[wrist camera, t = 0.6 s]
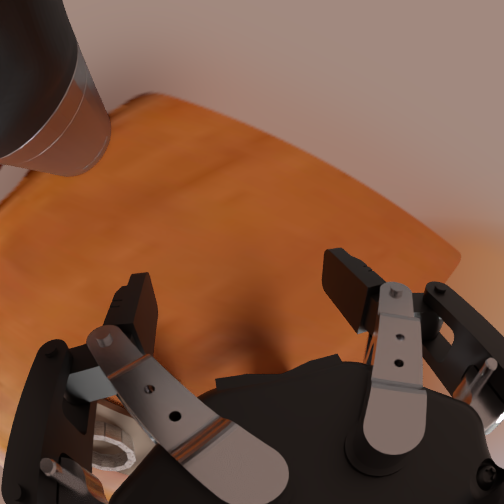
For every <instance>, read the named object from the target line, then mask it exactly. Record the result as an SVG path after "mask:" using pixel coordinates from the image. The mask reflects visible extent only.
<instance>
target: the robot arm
mask: <svg viewBox="0 0 504 504" xmlns="http://www.w3.org/2000/svg"><path fill="white" fill-rule="evenodd" d="M110 136H111V124H110V119H109V116H108V114H107V112H106V110H105V107H104V105H103V103H102V100H101V98H100V96H99V94H98V91H97V89H96V87H95V84H94V82H93V80H92V77H91V75H90V72H89V70H88V67H87V65H86V62H85V60H84V58H83V56H82V53H81V50H80V48H79V45H78V42H77V40H76V37H75V35H74V32H73V30H72V27H71V24H70V22H69V19H68V17H67V14H66V11H65V8H64V5H63V1H62V0H0V164H3V165H11V166H15V167H21V168H26V169H31V170H36V171H41V172H46V173H50V174H55V175H60V176H66V177H67V176H76V175H79V174H82V173H84V172H86V171H88V170H89V169H91V168H92V167H93V166H94V165H96V163H97V162H98V161H99V160H100V159H101V158H102V156H103V154H104V153H105V151H106V149H107V147H108V144H109V141H110ZM322 286H323V289H324V291H325V293H326V294H327V295H328V296H329V298H330V299H331V300H332V302H333V303H334V304H335V305H336V307H337V308H338V309H339V311H340V312H341V313H342V315H343V316H344V317H345V318H346V320H347V321H348V322H349V324H350V325H351V326H352V328H353V329H354V330H355V332H356V333H357V334H360V333H363V332H366V331H368V332H369V335H368V338H367V343H366V348H365V354H364V359H363V363H359V362H347V361H345V362H342V361H341V359H340V357H339V356H338V354H334V355H331V356H327V357H323V358H320V359H316V360H312V361H309V362H307V363H305V364H303V365H300V366H298V367H296V368H294V369H292V370H290V371H288V372H285V373H283V374H244V375H238V376H231V377H225V378H217V379H215V381H216V387H217V388H215V389H212V390H210V391H207V392H205V393H203V394H202V395H200V396H198V397H195V396H194V395H193V394H192V393H191V392H190V391H189V390H187V389H186V388H185V387H184V386H183V385H182V384H181V383H180V382H178V381H177V380H176V379H175V378H174V377H173V376H172V375H171V374H170V373H169V372H168V371H167V370H166V369H165V368H164V367H162V366H161V365H160V364H159V363H158V362H157V361H156V360H155V359H154V358H153V352H154V343H155V335H156V326H157V319H158V307H157V302H156V298H155V294H154V291H153V287H152V283H151V279H150V275H149V273H148V272H145V273H137V274H132V275H131V277H130V279H129V282H128V285H127V286H122V287H121V288H120V289H119V290H118V291H117V292H116V293H115V295H114V297H113V300H112V302H111V305H110V308H109V310H108V313H107V315H106V318H105V321H104V324H103V326H101V327H98V328H96V329H95V330H93V331H92V332H91V333H90V334H89V336H88V337H87V341H86V343H87V344H84V345H81V346H77V347H74V348H70V349H69V348H68V346H67V344H66V343H65V342H64V341H63V340H59V339H55V340H51V341H48V342H47V343H45V344H44V345H43V346H42V347H41V348H40V349H39V350H38V352H37V355H36V357H35V360H34V362H33V364H32V367H31V370H30V372H29V375H28V377H27V380H26V383H25V386H24V389H23V392H22V395H21V398H20V401H19V404H18V407H17V411H16V414H15V418H14V421H13V425H12V429H11V433H10V437H9V442H8V447H7V452H6V457H5V463H4V469H3V477H2V487H1V491H2V496H3V499H4V501H5V503H6V504H504V469H502V468H500V467H498V466H497V465H496V464H495V463H494V461H493V460H492V458H491V456H490V453H489V450H488V447H487V443H486V439H485V435H487V434H489V433H491V432H492V431H493V430H494V429H495V428H496V427H497V426H498V425H499V424H500V423H501V422H502V421H503V420H504V337H503V336H502V335H501V334H500V333H499V332H498V331H497V330H496V329H495V328H494V327H493V326H492V325H491V324H490V323H489V322H488V321H487V320H486V319H485V318H484V317H483V316H482V315H481V314H479V313H478V312H477V311H476V310H475V309H474V308H473V307H472V306H471V305H469V304H468V303H467V302H466V301H465V300H464V299H463V298H462V297H461V296H459V295H458V294H457V293H456V292H455V291H454V290H452V289H451V288H450V287H449V286H447V285H445V284H443V283H440V282H429V283H428V284H427V285H426V288H425V291H424V293H412V292H411V290H410V289H409V288H408V287H407V286H405V285H403V284H401V283H397V282H385V281H384V280H383V279H382V278H381V277H380V276H379V275H378V274H376V273H375V272H374V271H372V269H371V268H370V267H367V265H366V264H365V263H364V262H363V261H361V260H359V259H357V258H355V257H353V256H351V255H349V254H348V253H347V252H346V251H345V250H344V249H342V248H334V249H327V250H326V251H325V253H324V261H323V272H322ZM443 322H445V323H446V324H447V325H448V326H449V327H450V328H451V329H452V330H453V333H454V341H453V344H452V346H451V345H450V343H449V342H448V341H447V340H446V339H445V338H444V337H443V336H442V335H441V333H440V332H439V331H440V329H441V326H442V324H443ZM422 357H423V358H424V359H425V361H426V362H427V364H428V365H429V366H430V367H431V369H432V370H433V371H434V373H435V374H436V376H437V377H438V378H439V380H440V381H441V382H442V384H443V385H444V386H445V388H446V389H447V390H448V392H449V393H450V395H451V396H452V397H449V396H447V395H444V394H441V393H438V392H436V391H433V390H430V389H428V388H425V387H423V362H422ZM113 395H116V396H117V397H118V399H119V400H120V401H121V403H122V404H123V406H124V407H125V408H126V410H127V411H128V412H129V413H130V415H131V416H132V417H133V419H134V420H135V421H136V422H137V424H138V425H139V426H140V427H141V429H142V430H143V431H144V432H145V434H146V435H147V436H148V437H149V438H150V440H151V441H152V442H153V443H154V444H155V446H154V447H153V448H152V450H151V451H150V452H149V453H148V454H147V456H146V457H145V458H144V459H143V460H142V461H141V463H140V464H139V465H138V466H137V467H136V468H135V470H134V471H133V472H132V473H131V474H130V475H129V477H128V478H127V479H126V480H125V481H124V482H123V483H122V484H121V486H120V487H119V488H118V489H117V490H116V491H115V492H114V494H113V495H112V497H111V498H110V500H109V502H108V501H107V499H106V497H105V495H104V490H103V486H102V484H101V482H100V481H99V479H98V478H97V477H96V476H94V475H93V474H92V455H93V439H94V428H95V418H96V409H97V402H98V400H99V399H102V398H106V397H109V396H113Z"/></svg>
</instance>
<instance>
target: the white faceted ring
mask: <svg viewBox="0 0 504 504" xmlns="http://www.w3.org/2000/svg"><path fill="white" fill-rule="evenodd" d="M93 440H103V441H106V442H109V443H112V444H114V445H117V446H119V447H120V448H121V449H122V450H124V451H123V452H122V453H118V454H115V455H108V454H101V453H98V452H95V451H93V455H92V467H94V468H97V469H100V470H101V469H102V470H106V471H121V470H124V469H128V468H130V467H131V466H132V465H133V464H134V463H135V462H136V457H135V448H134V443H133V439H132V437H130V436H129V435H128V434H127V433H126V432H125V431H124V430H123V429H121V428H119V427H116V426H114V425H111V424H109V423H107V422H106V423H105V422H100V421H95V428H94V439H93Z"/></svg>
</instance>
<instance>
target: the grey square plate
mask: <svg viewBox="0 0 504 504" xmlns="http://www.w3.org/2000/svg"><path fill="white" fill-rule="evenodd" d="M95 421H100V422H105V423H106V422H107V423H109V424H111V425H114V426H116V427H119V428H121V429H123V430H124V431H125V432H126V433H127V434H128V435H129V436H130V437H132V439H133V443H134V448H135V457H136V462H135V463H134V464H133V465H132V466H131V467H130V468H128V469H124V470H121V471H117V472H120V473H123V474H127V475H130V474H131V473H132V472H133V471H134V470H135V468H136V467H137V466H138V465H139V464H140V463H141V461H142V460H143V459H144V458H145V457H146V456H147V454H148V453H149V452H150V451H151V450H152V448H153V447H154V446H155V444H154V443H153V442H152V441H151V440H150V438H149V437H148V436H147V435H146V434H145V432H144V431H143V430H142V429H141V427H140V426H139V425H138V424H137V422H136V421H135V420H134V419H133V417H132V416H131V415H130V413H129V412H128V411H127V410H126V409H125V408H122V407H120V406H118V405H115V404H113V403H111V402H109V401H107V400H104V399H99V400H98V402H97V409H96V418H95ZM93 451H95V452H98V453H101V454H108V455H115V454H118V453H122V452H123V451H124V450H122V449H121V448H120V447H119V446H117V445H114V444H112V443H109V442H106V441H103V440H93Z"/></svg>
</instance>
